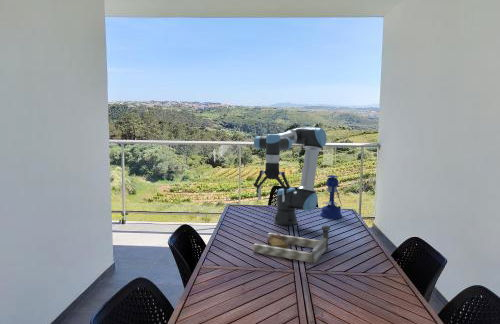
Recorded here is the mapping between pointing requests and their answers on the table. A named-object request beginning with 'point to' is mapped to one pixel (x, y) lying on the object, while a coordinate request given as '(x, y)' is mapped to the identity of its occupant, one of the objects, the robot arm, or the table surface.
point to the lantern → (332, 200)
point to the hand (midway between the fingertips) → (271, 200)
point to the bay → (294, 254)
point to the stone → (277, 241)
